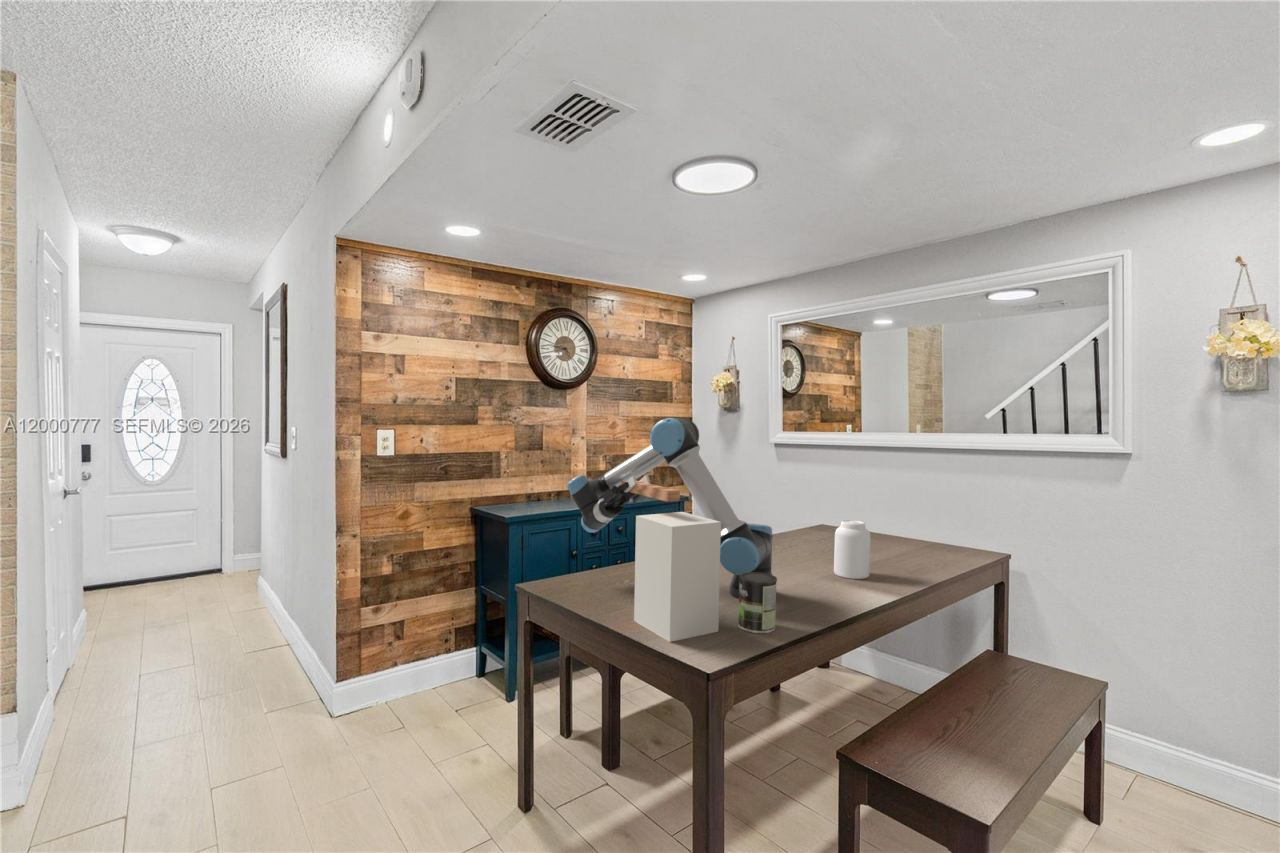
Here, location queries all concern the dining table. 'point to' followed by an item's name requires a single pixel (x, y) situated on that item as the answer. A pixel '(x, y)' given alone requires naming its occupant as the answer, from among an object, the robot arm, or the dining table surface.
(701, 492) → the robot arm
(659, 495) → the bar
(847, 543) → the white jar
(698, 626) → the pedestal
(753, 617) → the coffee can
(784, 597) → the dining table surface
